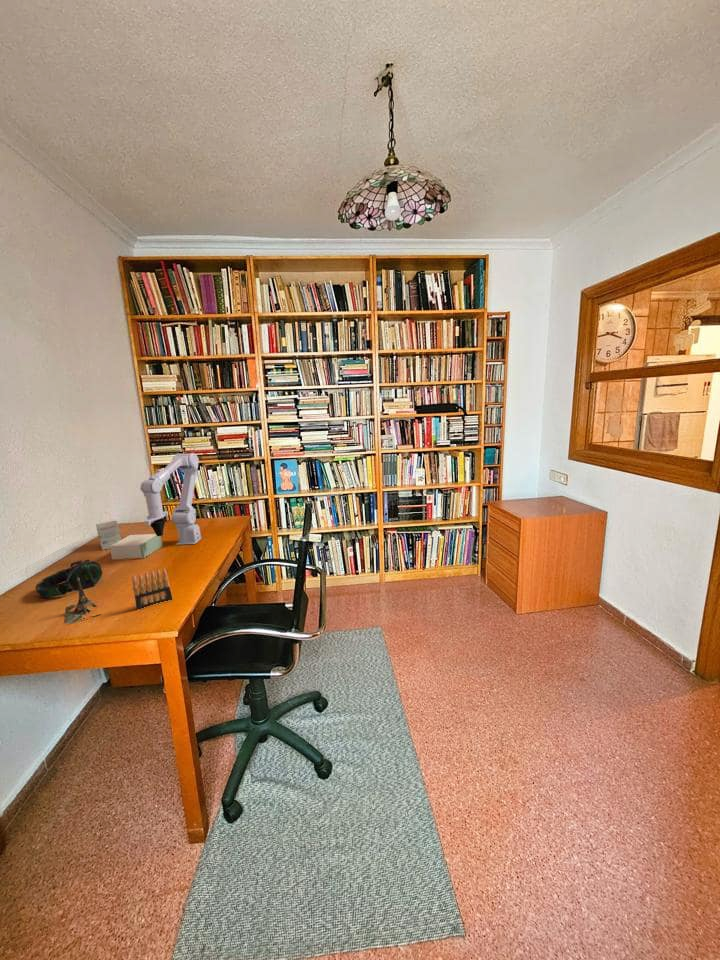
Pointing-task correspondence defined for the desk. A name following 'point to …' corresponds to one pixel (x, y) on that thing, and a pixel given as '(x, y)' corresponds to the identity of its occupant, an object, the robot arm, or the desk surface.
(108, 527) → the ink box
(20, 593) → the desk surface
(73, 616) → the eiffel tower figurine
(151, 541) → the drawer
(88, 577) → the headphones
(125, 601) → the desk surface
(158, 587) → the ammunition clip
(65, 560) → the desk surface
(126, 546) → the organizer
